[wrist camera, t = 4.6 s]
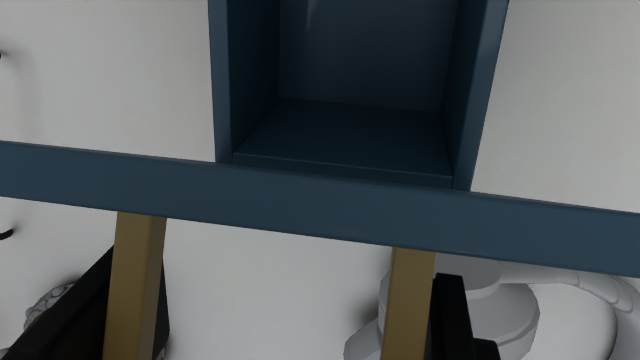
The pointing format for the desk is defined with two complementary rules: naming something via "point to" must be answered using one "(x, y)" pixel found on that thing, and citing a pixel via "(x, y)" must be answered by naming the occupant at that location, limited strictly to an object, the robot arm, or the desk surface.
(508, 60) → the desk surface
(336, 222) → the lid
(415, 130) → the chest
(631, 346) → the headphones
